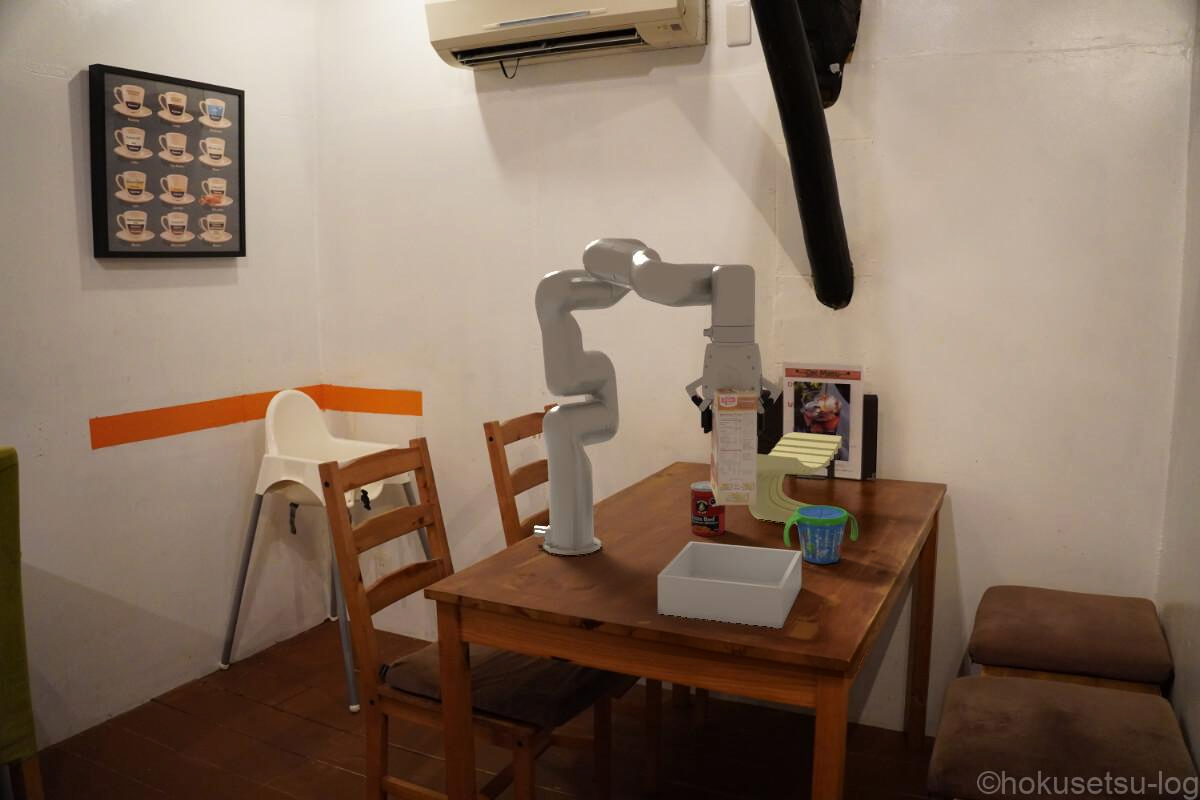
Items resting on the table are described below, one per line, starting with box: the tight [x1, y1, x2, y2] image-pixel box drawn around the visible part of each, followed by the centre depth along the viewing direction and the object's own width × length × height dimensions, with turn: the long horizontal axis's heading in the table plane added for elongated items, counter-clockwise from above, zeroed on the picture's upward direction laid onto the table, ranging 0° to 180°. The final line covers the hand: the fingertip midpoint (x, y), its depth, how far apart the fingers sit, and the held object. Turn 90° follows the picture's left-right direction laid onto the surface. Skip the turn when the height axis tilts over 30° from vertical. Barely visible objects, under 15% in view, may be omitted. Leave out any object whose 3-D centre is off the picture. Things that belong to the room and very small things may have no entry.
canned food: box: [690, 480, 726, 537], centre depth 214 cm, size 8×8×11 cm
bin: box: [657, 540, 803, 629], centre depth 170 cm, size 22×22×7 cm
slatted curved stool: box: [748, 431, 843, 526], centre depth 226 cm, size 30×16×18 cm, turn 147°
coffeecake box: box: [710, 389, 758, 506], centre depth 167 cm, size 15×7×20 cm, turn 178°
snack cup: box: [783, 504, 859, 565], centre depth 193 cm, size 16×10×10 cm
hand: (732, 433), depth 167 cm, fingers closed on coffeecake box, 8 cm apart
